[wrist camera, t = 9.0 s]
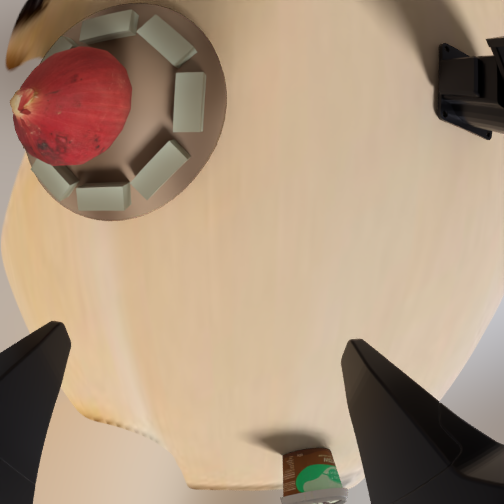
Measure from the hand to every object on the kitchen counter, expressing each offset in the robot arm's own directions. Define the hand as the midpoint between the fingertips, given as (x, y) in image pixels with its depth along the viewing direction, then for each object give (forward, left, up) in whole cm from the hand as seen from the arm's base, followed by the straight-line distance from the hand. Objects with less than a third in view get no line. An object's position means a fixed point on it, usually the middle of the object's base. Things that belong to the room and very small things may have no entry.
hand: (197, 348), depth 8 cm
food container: (-15, +38, -12) cm, 43 cm away
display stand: (+7, -7, -12) cm, 16 cm away
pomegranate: (+7, -7, -10) cm, 14 cm away
